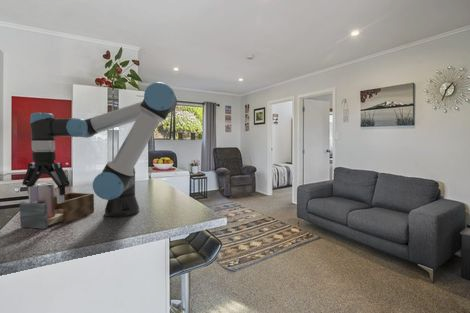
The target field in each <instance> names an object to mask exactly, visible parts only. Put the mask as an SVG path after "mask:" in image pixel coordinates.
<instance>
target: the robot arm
mask: <svg viewBox="0 0 470 313" xmlns="http://www.w3.org/2000/svg"><path fill="white" fill-rule="evenodd" d="M145 88H146V89H145V90H144V93H143V94H144V95H143V97H144V98H143V99H142V101H140V102H137V103H133V104H131V105H128V106H124V107H121V108H118V109H115V110H112V111H108V112H106V113H102V114H99V115H95V116H93V117H89V118H86V119H84V118H77V117H73V118H67V117H64V118H63V117H62V118H59V117H58V118H56V117H54V114H53V113H49V112H48V113H47V112H33V113H31V114H30V120H29V124H30V134H31V135H30V136H31V137H30V138H31V151H33V152H32V153H31V156H32V157H31V159H32V161H33V162H29V163H27V170H26V172H25V175H24V177H23V180H22V185H23V186H26V187H27V194H28V202H32V203H36V202H37V201H36V187H37V185H36V183H37V182H38V180H39V178H41V175H43V174H44V175H47V176H50V178H51V180H52V181H53V183H54V184H56V187H55V189H56V196H57V204H60V203H63V202H65V200H64V195H65V194H66V187H67V186H70V181H69V179H68V177H67V175H66V173H65V171H64V169H63V166H62V165H63V164H62V162H56V163H55V161H56V160H57V159H56V157H57V155H56V152H55V150H56V138H57V137H60V138H61V137H65V138H67V137H68V138H70V137H71V138H72V137H73V138H92V137H94V136H95V135H97V134H99V133H102V132H106V131H109V130H112V129H114V128H118V127H120V126H121V127H122V126H125V125H127V124H131V123H133V125H132V127H131V128H130V130H129V132H128V134H127V136H126V137H125V139H124V140H123V142H122V144H121V146H120V147H119V149H118V151H117V153H116V154H115V156H114V158H113V160H111V161H107V163H106V164H105V166H104V168H103V169H102V171H101V172H100V173H99V174H97V176H95V177H94V179H93V181H92V190H93V191H94V195H96V196H97V197H98V198H100V199H102V200H107V203H106V205H105V209H104V215H105V216H107V217H109V218H120V217H121V218H122V217H128V216H134V215H136V214H138V213H139V212H140V206H139V203H138V200H137V197H136V168H135V167H136V165H137V162H138V161H139V159H140V158H141V156H142V154H143V152H144V150H145V148H146V147H147V145H148V143H149V141H150V140H151V139H152V138H151V137H152V136H153V134H154V133H155V131H156V129H157V128H158V126H159V124H160V123H161V122H164V121H166V120H167V118H168V116H169V114H170V113H172V112H173V111H174V110H175V109H176V107H177V104H178V99H177V97H176V94H175V92H174V90H173V89H172V87H170V86H169V85H168V84H167V83H164V82H160V81H158V82H157V81H156V82H152V83H151V84H149V85H148V86H147V87H145Z"/></svg>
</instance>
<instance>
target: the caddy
mask: <svg viewBox="0 0 470 313" xmlns="http://www.w3.org/2000/svg"><path fill="white" fill-rule="evenodd" d="M94 195H95V193H86V192H65V195H64V200H65V202H63V203H60V204H57V195H55V210H56V209H63V220H62V221H59V222H58V223H68V222H71V221H73V220H74V221H75V220H77V219H79V218H81V217H84V216H87V215H90V214H92V213H94V212H95V196H94Z"/></svg>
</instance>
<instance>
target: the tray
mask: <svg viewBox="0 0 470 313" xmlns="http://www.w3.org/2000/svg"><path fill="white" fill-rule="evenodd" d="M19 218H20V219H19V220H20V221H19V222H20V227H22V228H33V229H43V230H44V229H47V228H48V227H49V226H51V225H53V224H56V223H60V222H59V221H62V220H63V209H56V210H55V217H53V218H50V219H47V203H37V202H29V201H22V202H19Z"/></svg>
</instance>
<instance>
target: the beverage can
mask: <svg viewBox="0 0 470 313" xmlns="http://www.w3.org/2000/svg"><path fill="white" fill-rule="evenodd" d="M55 189H56V187H55V182H44V183H43V182H42V183H37V184H36V201H35V202H36V203H47V219H50V218H53V217H55V196H56V195H55V194H56V192H55Z"/></svg>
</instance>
